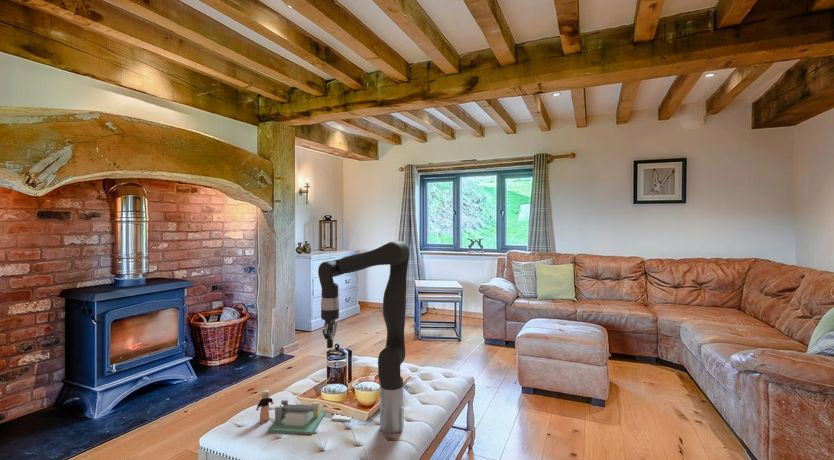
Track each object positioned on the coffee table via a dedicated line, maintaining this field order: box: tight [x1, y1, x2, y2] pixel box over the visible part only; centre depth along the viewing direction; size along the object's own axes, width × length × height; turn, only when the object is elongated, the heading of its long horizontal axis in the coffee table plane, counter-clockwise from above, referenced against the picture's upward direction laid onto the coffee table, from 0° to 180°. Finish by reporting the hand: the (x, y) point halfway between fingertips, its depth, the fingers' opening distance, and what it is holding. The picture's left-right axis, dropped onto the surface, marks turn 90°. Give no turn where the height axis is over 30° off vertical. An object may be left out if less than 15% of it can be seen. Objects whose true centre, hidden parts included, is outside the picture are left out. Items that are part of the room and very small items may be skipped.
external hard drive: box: [330, 413, 353, 423], centre depth 167 cm, size 2×8×12 cm
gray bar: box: [278, 403, 317, 412], centre depth 159 cm, size 16×4×2 cm, turn 85°
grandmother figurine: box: [255, 389, 274, 424], centre depth 161 cm, size 8×4×13 cm, turn 153°
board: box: [267, 399, 326, 435], centre depth 159 cm, size 18×16×8 cm
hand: (330, 347), depth 166 cm, fingers closed
